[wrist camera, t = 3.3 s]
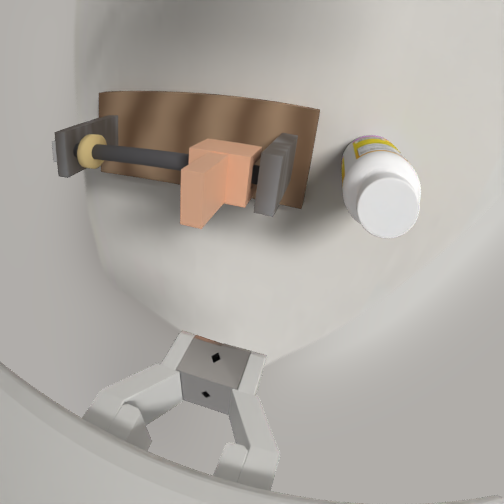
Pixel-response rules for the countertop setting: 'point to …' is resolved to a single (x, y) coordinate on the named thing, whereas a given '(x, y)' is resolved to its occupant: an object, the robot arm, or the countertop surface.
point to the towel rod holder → (203, 137)
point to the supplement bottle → (380, 187)
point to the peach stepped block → (216, 179)
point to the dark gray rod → (129, 155)
